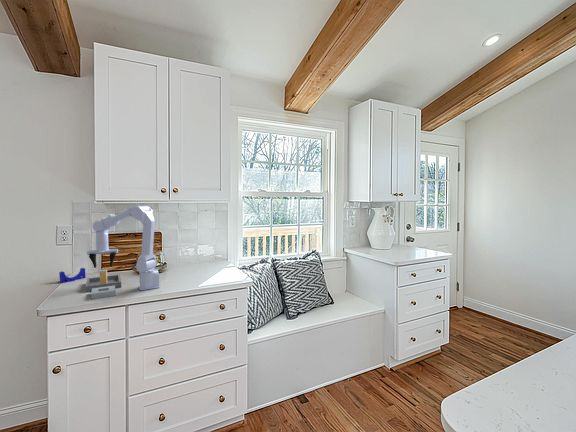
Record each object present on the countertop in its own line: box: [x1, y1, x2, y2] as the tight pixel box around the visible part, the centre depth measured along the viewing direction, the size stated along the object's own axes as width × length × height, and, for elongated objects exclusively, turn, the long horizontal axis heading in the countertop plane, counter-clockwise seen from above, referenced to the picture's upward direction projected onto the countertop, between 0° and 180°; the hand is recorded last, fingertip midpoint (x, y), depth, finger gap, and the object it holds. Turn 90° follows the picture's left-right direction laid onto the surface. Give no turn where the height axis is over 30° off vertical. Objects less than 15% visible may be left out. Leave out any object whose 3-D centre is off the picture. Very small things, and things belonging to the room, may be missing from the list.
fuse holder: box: [90, 286, 117, 300], centre depth 149 cm, size 10×10×2 cm
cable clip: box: [58, 267, 87, 284], centre depth 176 cm, size 12×4×6 cm, turn 144°
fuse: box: [98, 269, 108, 284], centre depth 164 cm, size 3×3×8 cm
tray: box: [84, 273, 122, 293], centre depth 165 cm, size 16×18×3 cm
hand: (103, 266), depth 164 cm, fingers open, 7 cm apart
